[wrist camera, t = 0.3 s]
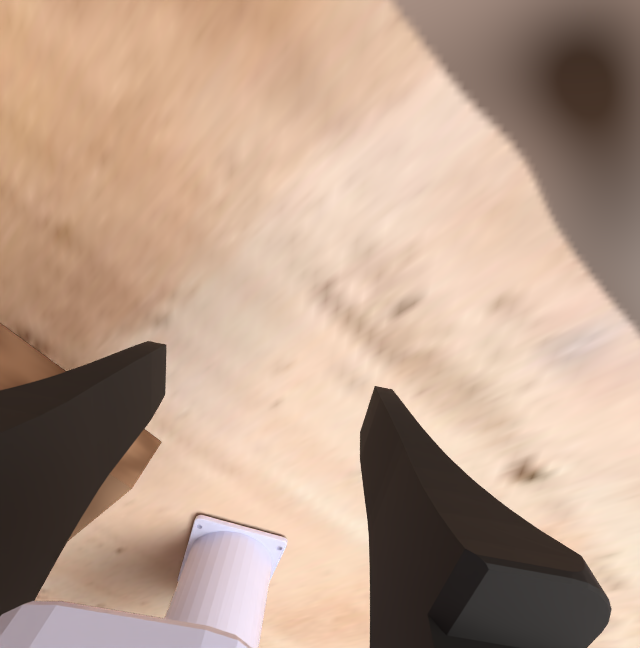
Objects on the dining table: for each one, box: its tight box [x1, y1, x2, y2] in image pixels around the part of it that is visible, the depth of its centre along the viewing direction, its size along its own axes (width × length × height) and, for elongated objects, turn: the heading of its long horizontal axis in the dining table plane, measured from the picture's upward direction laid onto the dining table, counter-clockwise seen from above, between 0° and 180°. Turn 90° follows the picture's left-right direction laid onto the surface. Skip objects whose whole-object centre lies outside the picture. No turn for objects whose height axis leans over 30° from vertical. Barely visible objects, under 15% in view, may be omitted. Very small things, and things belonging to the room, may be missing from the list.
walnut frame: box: [0, 323, 161, 541], centre depth 24 cm, size 16×10×4 cm, turn 43°
